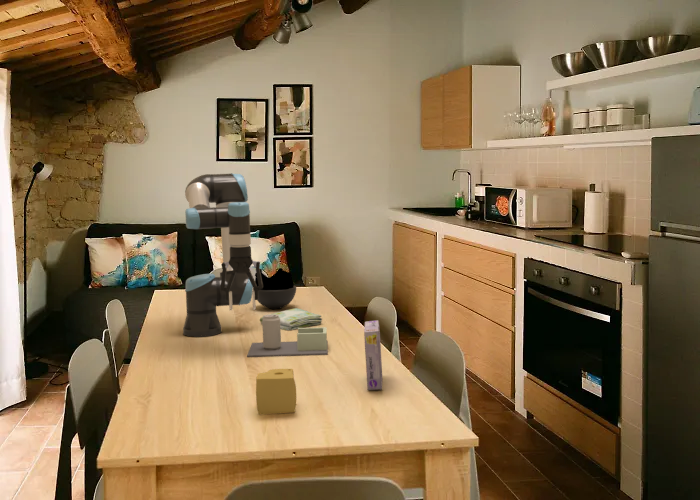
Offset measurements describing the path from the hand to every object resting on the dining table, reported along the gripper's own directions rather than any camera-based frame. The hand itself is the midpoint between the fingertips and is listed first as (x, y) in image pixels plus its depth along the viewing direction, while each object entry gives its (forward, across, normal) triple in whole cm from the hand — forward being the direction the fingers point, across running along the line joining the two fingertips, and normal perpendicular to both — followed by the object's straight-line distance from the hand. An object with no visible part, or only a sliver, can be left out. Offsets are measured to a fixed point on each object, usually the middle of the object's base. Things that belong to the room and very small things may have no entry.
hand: (242, 309), depth 286 cm
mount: (+15, -16, 0) cm, 22 cm away
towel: (+16, -15, -46) cm, 51 cm away
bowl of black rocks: (+15, -6, -83) cm, 85 cm away
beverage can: (+15, -10, 0) cm, 18 cm away
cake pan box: (+15, -44, +47) cm, 66 cm away
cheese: (+15, -16, +70) cm, 74 cm away
